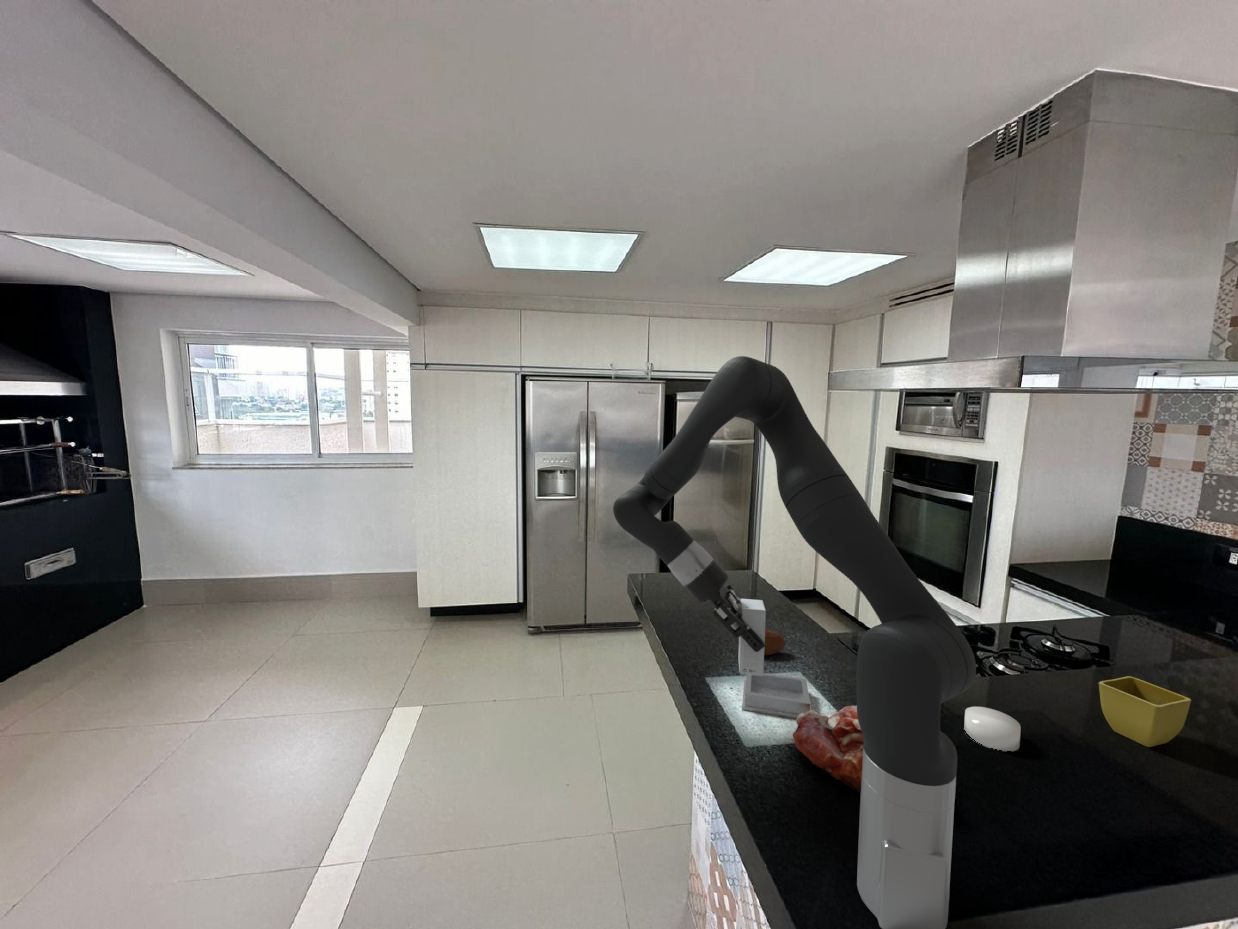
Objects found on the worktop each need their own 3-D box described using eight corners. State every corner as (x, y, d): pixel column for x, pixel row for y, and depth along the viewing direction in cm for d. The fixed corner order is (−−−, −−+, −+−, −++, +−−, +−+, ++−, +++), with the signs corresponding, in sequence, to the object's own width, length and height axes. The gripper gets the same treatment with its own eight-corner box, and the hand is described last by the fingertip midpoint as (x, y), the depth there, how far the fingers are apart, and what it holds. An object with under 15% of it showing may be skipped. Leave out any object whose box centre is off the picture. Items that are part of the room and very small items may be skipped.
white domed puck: (1028, 756, 84) (1030, 736, 84) (974, 747, 87) (975, 727, 86) (1006, 729, 92) (1007, 710, 92) (957, 721, 94) (958, 703, 94)
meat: (784, 715, 96) (786, 665, 95) (906, 733, 91) (908, 680, 90) (795, 791, 76) (797, 728, 75) (952, 819, 70) (956, 752, 70)
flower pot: (1154, 757, 84) (1159, 706, 84) (1093, 727, 93) (1097, 681, 92) (1188, 749, 87) (1193, 699, 86) (1126, 721, 95) (1129, 675, 95)
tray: (812, 721, 94) (813, 705, 93) (742, 709, 97) (742, 694, 97) (807, 692, 104) (808, 678, 104) (744, 682, 108) (744, 669, 108)
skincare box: (764, 677, 87) (766, 610, 87) (739, 674, 88) (741, 608, 88) (761, 662, 93) (763, 599, 93) (738, 659, 94) (739, 597, 93)
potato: (788, 659, 119) (789, 633, 119) (740, 657, 120) (741, 631, 120) (781, 648, 125) (782, 623, 125) (735, 647, 126) (736, 622, 126)
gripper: (707, 567, 85) (778, 644, 82) (715, 549, 99) (776, 614, 96) (676, 595, 87) (744, 671, 84) (688, 573, 100) (747, 638, 98)
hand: (760, 640), depth 90 cm, fingers closed on skincare box, 6 cm apart
